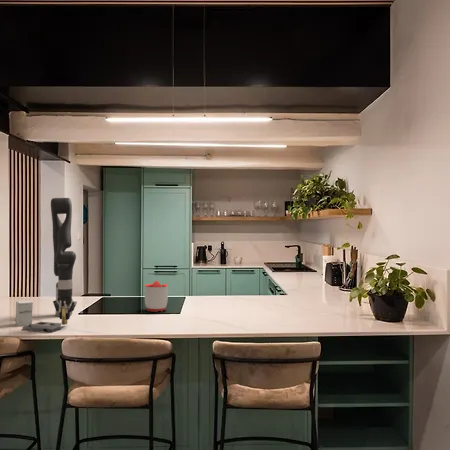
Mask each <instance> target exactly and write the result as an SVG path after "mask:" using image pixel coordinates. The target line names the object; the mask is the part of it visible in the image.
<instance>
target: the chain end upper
mask: <svg viewBox="0 0 450 450" xmlns="http://www.w3.org/2000/svg"><path fill="white" fill-rule="evenodd" d="M31 328H42V329H47V331H46V333H55V332H57V330H58V331H61V330H62V322H49V321H38V322H35V323H32V324H31Z"/></svg>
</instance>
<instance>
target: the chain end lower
mask: <svg viewBox="0 0 450 450" xmlns="http://www.w3.org/2000/svg"><path fill="white" fill-rule="evenodd" d="M21 330H23V331H30V330H32V331H31V332H41V331H44V332H47V331H46V330H47V329H42V328H31V324H29V325H23V326H22V329H21Z"/></svg>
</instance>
